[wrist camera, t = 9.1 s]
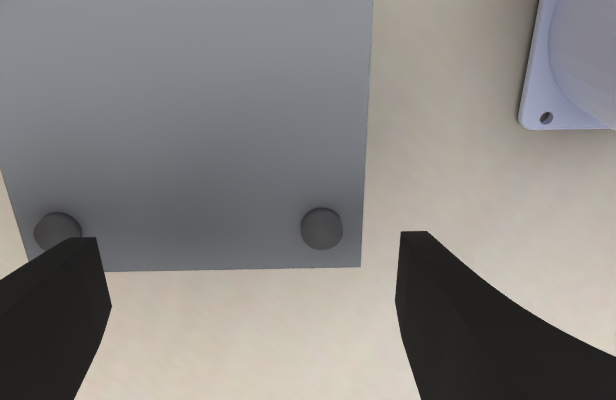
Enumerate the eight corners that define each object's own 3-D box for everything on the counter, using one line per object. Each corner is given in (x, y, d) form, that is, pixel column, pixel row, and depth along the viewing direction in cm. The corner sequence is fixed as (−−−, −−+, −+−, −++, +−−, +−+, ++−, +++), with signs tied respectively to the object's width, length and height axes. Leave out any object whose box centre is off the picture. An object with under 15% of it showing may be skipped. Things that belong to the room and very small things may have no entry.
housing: (342, 172, 22) (361, 274, 16) (106, 176, 22) (26, 281, 15) (348, -98, 18) (380, -113, 11) (50, -95, 17) (-97, -110, 11)
